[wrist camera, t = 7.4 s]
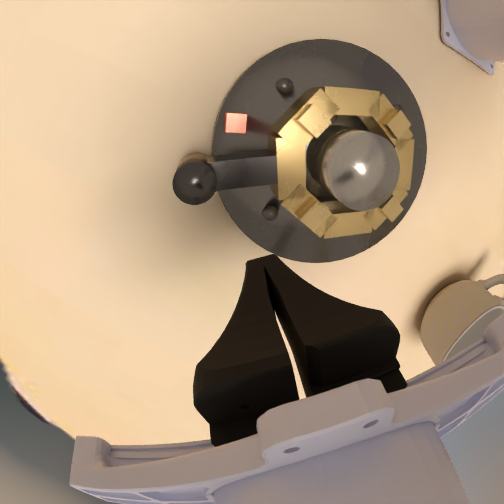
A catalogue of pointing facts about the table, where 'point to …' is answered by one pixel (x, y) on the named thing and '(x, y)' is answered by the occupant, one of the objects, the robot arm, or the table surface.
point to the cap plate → (274, 106)
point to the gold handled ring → (294, 161)
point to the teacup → (459, 317)
